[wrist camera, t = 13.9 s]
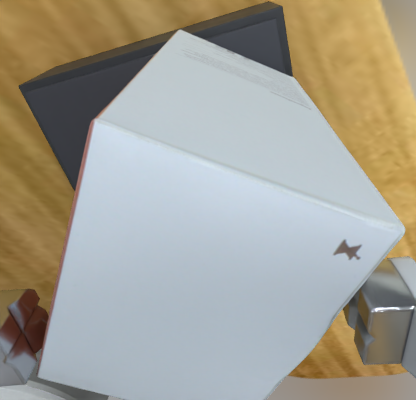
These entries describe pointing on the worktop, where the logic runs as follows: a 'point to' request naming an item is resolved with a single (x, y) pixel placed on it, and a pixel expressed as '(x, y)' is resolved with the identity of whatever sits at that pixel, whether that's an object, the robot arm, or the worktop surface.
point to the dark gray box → (128, 68)
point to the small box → (208, 234)
